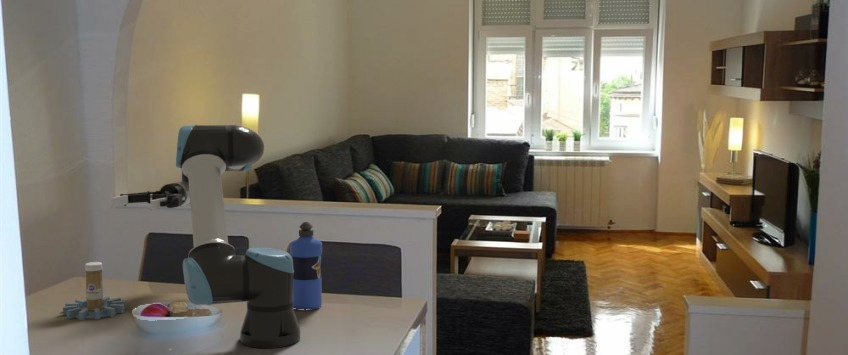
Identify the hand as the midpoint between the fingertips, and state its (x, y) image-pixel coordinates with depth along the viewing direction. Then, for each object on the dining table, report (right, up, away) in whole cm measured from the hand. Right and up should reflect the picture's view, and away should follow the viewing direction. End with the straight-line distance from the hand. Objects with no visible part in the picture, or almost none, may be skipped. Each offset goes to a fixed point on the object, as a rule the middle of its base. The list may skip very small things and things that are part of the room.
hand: (131, 203), depth 231 cm
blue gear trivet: (-9, -30, -4) cm, 32 cm away
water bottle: (+50, -31, +5) cm, 58 cm away
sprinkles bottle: (-9, -30, -4) cm, 32 cm away
